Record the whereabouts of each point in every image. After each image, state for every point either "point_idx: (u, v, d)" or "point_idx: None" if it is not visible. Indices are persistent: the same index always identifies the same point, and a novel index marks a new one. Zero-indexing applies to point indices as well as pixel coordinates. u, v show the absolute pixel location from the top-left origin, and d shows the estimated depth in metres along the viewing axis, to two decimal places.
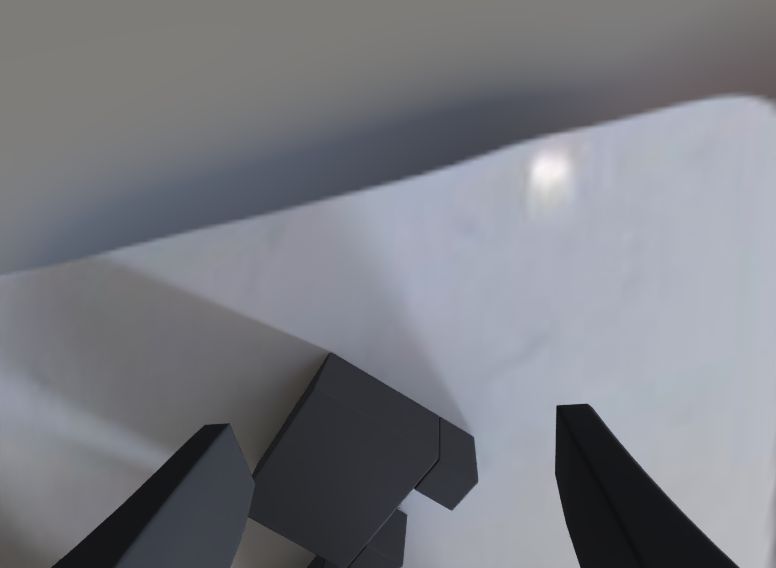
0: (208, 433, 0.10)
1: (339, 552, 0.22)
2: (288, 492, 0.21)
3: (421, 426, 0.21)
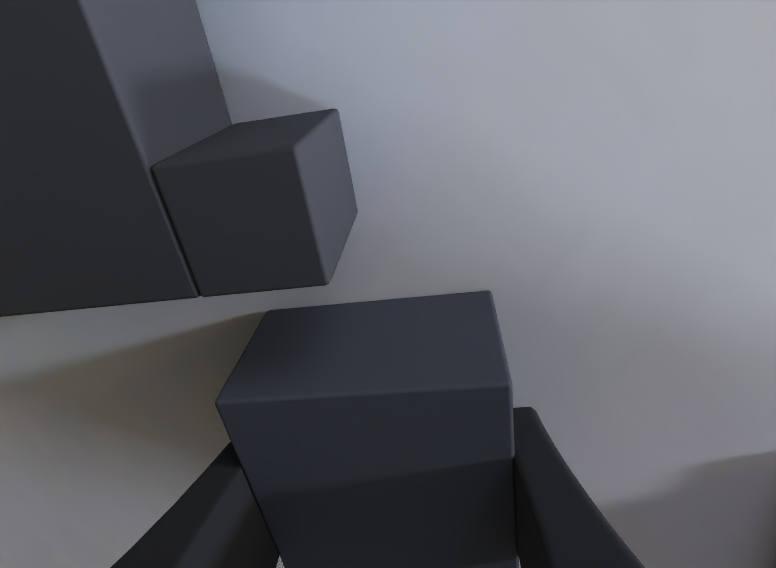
0: None
1: (129, 253, 0.07)
2: None
3: None
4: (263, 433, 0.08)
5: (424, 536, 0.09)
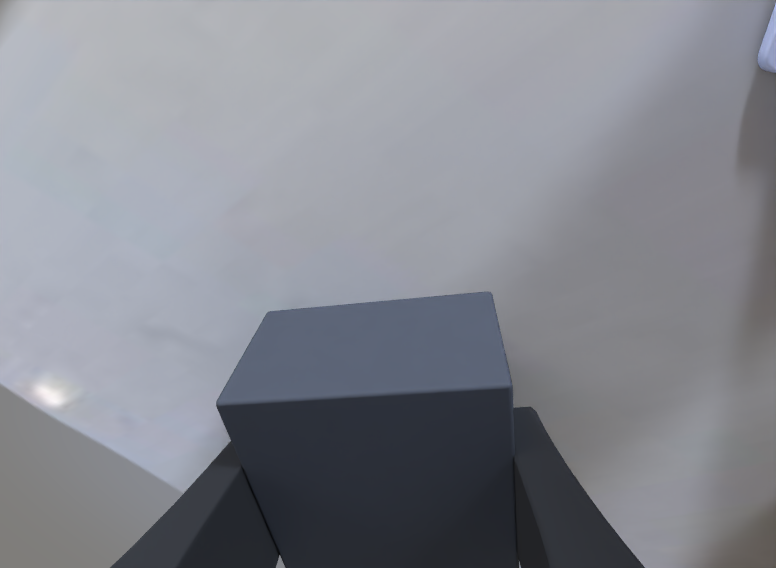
0: None
1: None
2: None
3: None
4: (264, 434, 0.08)
5: (424, 537, 0.09)
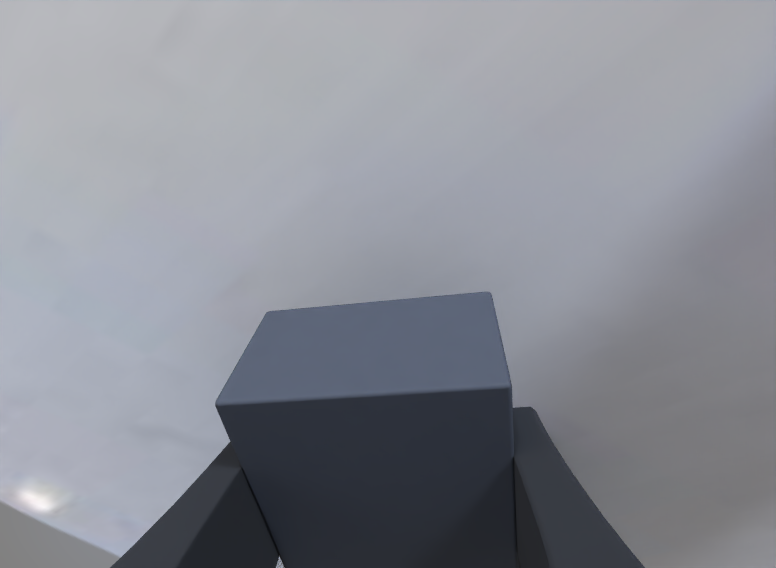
0: None
1: None
2: None
3: None
4: (263, 434, 0.08)
5: (424, 537, 0.09)
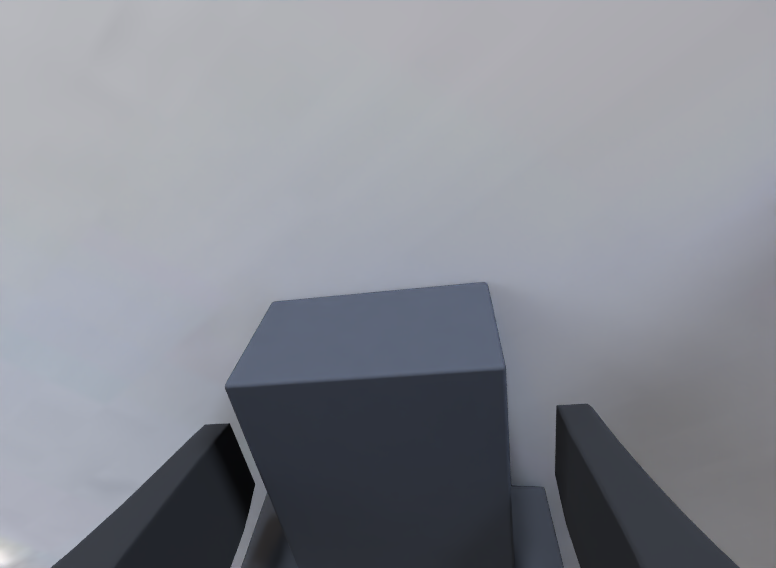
0: (208, 433, 0.10)
1: None
2: None
3: None
4: (270, 416, 0.09)
5: (423, 516, 0.10)
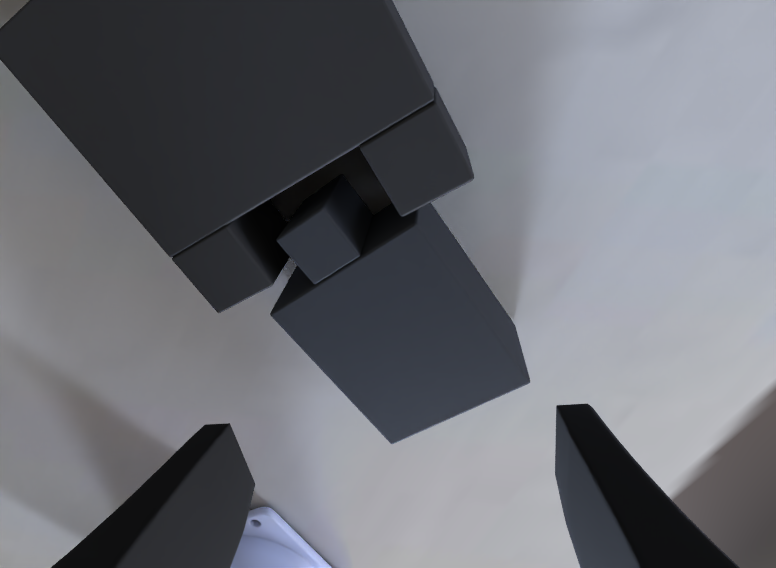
0: (208, 433, 0.10)
1: (172, 220, 0.12)
2: (116, 50, 0.10)
3: (416, 55, 0.11)
4: (497, 375, 0.14)
5: (366, 341, 0.13)
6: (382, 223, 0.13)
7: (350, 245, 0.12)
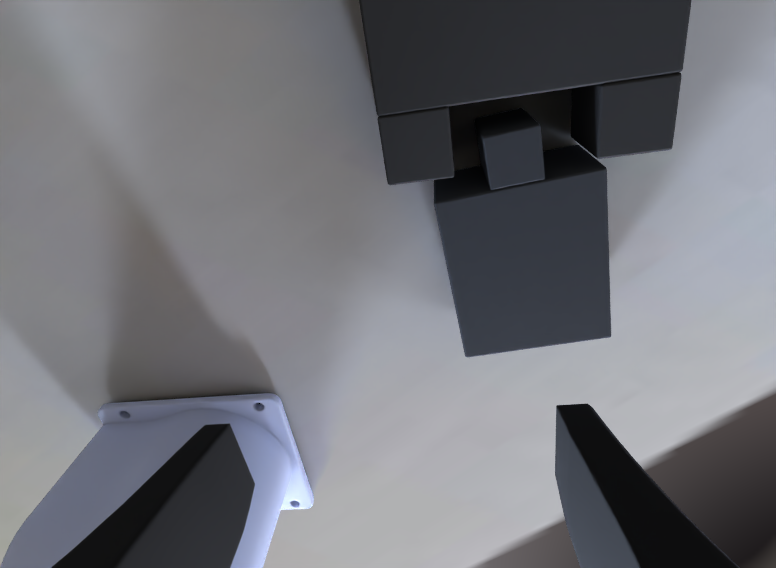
0: (208, 433, 0.10)
1: (402, 82, 0.13)
2: None
3: None
4: (589, 322, 0.16)
5: (503, 257, 0.15)
6: (550, 162, 0.15)
7: (543, 166, 0.14)
